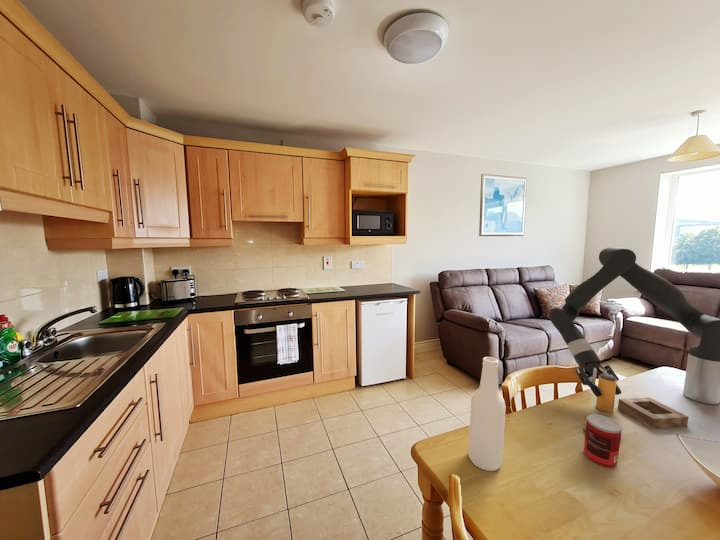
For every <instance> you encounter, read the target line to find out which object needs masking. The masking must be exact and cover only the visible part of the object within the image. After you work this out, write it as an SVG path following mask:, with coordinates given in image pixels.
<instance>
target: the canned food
mask: <svg viewBox="0 0 720 540" xmlns="http://www.w3.org/2000/svg"><path fill="white" fill-rule="evenodd" d="M586 417H587V421H586V431H585V430H584V431H585V433H584V443H583V451H584V454H585V456H586V457H587V458H588V459H589V460H590V461H592V462H594V464H597V465H599V466H602V467H606V468H613V467H616V466H617V464H618V462H619V453H620V445H621V440H620V439H622V426H621V424H620V423H618V422H617V421H615V420H614V419H612V418H611V417H608V416H606V415H602V414H597V413H591V414H588V415H587V416H586Z"/></svg>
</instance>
